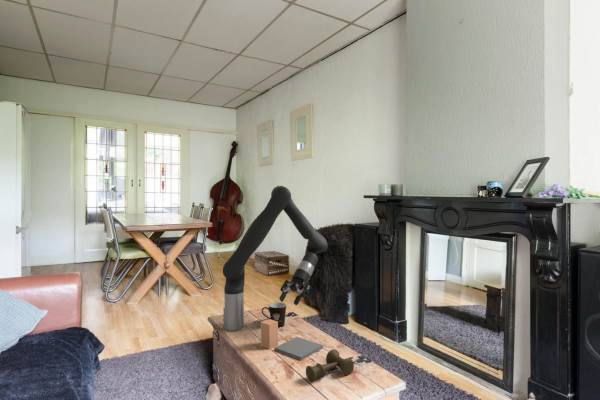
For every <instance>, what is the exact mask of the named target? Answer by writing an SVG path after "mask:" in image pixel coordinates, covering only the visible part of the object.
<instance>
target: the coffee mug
mask: <svg viewBox="0 0 600 400" xmlns="http://www.w3.org/2000/svg"><path fill="white" fill-rule="evenodd" d="M264 309H267V310H268V312H269V316H267V315H266V314H265V313H264ZM286 313H287V303H285V302H281V301H280V302H271V303H270V304H268V307H267V306H265V307H263V308H261V314H262V315H263V316H264V317H265V318H267V320H268V319H271V320H274V321H277V322H278V329H280V327H281V328H283V327H285V323H286V322H285V321H286Z"/></svg>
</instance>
